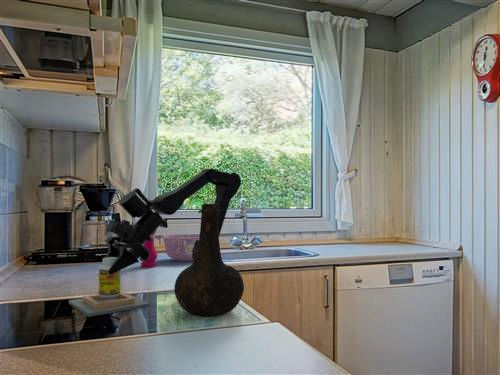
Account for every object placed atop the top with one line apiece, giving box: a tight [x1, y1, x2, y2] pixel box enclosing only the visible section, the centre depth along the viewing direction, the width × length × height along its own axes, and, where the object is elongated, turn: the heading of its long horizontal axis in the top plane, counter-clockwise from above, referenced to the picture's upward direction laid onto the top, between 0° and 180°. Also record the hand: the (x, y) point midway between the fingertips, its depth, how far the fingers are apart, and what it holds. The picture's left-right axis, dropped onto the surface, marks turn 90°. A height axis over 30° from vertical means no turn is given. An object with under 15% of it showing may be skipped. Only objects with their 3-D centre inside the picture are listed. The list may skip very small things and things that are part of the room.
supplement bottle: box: [98, 256, 122, 298], centre depth 109 cm, size 6×6×10 cm
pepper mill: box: [140, 229, 158, 269], centre depth 171 cm, size 7×7×20 cm
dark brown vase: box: [173, 202, 245, 318], centre depth 102 cm, size 18×18×28 cm
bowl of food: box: [162, 233, 200, 263], centre depth 190 cm, size 20×20×12 cm
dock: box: [68, 291, 150, 318], centre depth 108 cm, size 16×16×2 cm
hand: (105, 271), depth 108 cm, fingers closed on supplement bottle, 5 cm apart
